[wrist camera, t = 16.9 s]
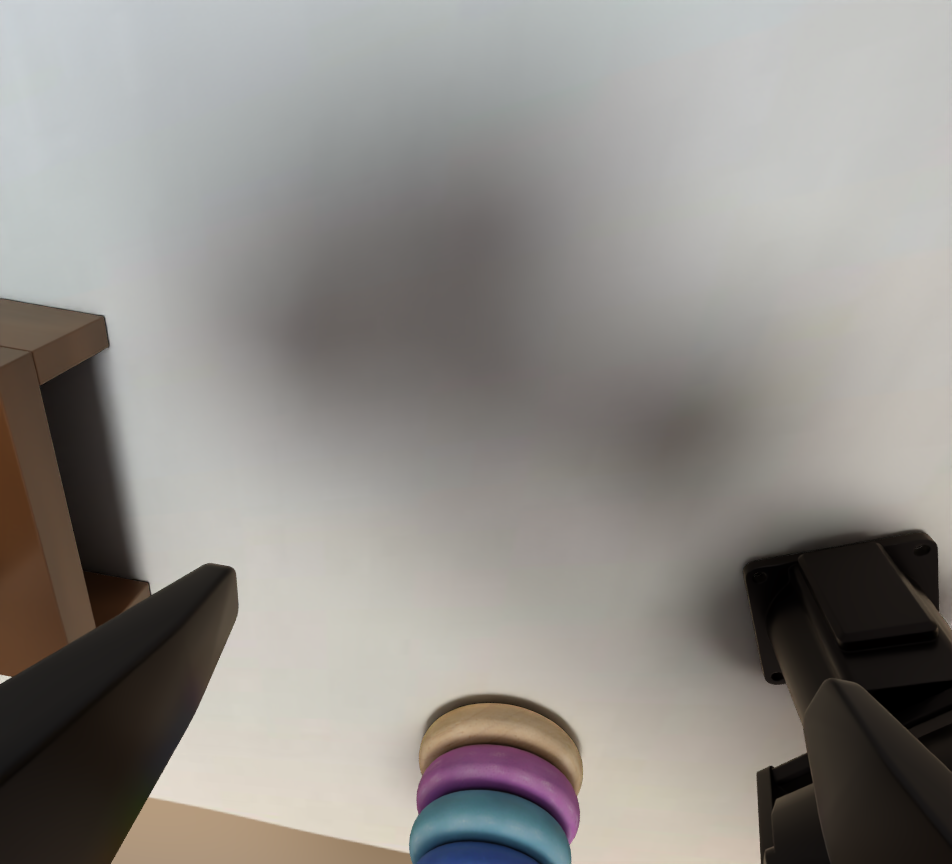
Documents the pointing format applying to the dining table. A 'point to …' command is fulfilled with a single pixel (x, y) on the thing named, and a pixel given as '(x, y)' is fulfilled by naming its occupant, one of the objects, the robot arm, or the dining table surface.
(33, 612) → the drawer
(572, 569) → the dining table surface
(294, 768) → the dining table surface
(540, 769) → the stacking toy
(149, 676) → the robot arm
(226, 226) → the dining table surface
